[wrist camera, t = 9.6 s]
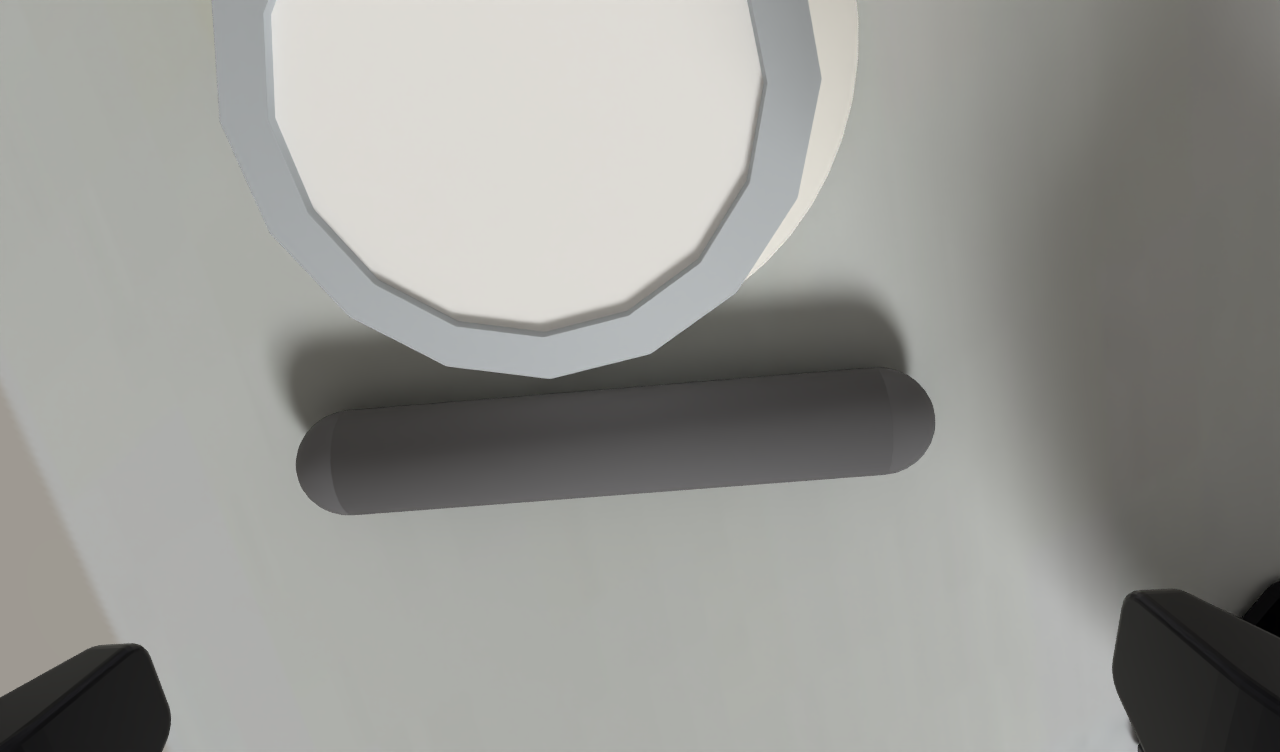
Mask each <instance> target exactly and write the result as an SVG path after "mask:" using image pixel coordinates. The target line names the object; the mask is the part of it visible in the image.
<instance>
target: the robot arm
mask: <svg viewBox="0 0 1280 752" xmlns="http://www.w3.org/2000/svg"><path fill="white" fill-rule="evenodd" d="M1112 673H1113V680H1114V684H1115V687H1116V691H1117V693H1118V696H1119V698H1120V700H1121V702H1122V704H1123V707H1124V709H1125V711H1126V713H1127V715H1128V717H1129V720H1130V722H1131V724H1132V726H1133V728H1134V730H1135V733H1136V735H1137V737H1138V739H1139V741H1140V743H1139V745H1138V752H1280V581H1279V582H1277V583H1275V584H1273V585H1271V586H1270V587H1269V588H1268V589H1267V590H1266V591H1265V592H1264V593H1263V594H1262V595H1261V597H1260V598H1259V599H1258V600H1257V601H1256V603H1255V604H1254V605H1253V606H1252V608H1251V609H1250V610H1249V611H1248V612H1247V614H1246V615H1245V616H1244V617H1243V618H1242V619H1240V618H1238V617H1236V616H1234V615H1232V614H1230V613H1228V612H1226V611H1224V610H1222V609H1220V608H1218V607H1215V606H1213V605H1211V604H1209V603H1207V602H1205V601H1203V600H1201V599H1199V598H1197V597H1195V596H1193V595H1191V594H1189V593H1187V592H1184V591H1182V590H1177V589H1157V590H1139V591H1133V592H1132V593H1130V594H1128V595H1127V596H1126V598H1125V599H1124V601H1123V605H1122V608H1121V614H1120V620H1119V626H1118V632H1117V638H1116V644H1115V650H1114V656H1113V663H1112ZM170 725H171V714H170V708H169V705H168V702H167V700H166V697H165V694H164V692H163V689H162V686H161V684H160V681H159V678H158V676H157V673H156V670H155V668H154V665H153V662H152V660H151V657H150V655H149V653H148V651H147V650H146V649H145V648H143V647H142V646H141V645H138V644H134V643H129V644H110V645H98V646H94V647H91V648H89V649H87V650H85V651H83V652H81V653H80V654H78V655H76V656H74V657H73V658H71V659H69V660H67V661H65V662H63V663H62V664H60V665H58V666H56V667H54V668H53V669H51V670H49V671H47V672H45V673H44V674H42V675H40V676H38V677H36V678H35V679H33V680H31V681H29V682H28V683H26V684H24V685H22V686H20V687H18V688H17V689H15V690H13V691H11V692H9V693H8V694H6V695H4V696H2V697H0V752H162V751H163V748H164V746H165V744H166V741H167V738H168V735H169V731H170Z"/></svg>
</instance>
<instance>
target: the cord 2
mask: <svg viewBox="0 0 1280 752" xmlns="http://www.w3.org/2000/svg"><path fill="white" fill-rule="evenodd" d="M934 431H935V414H934V409H933V405H932V402H931V400H930V398H929V397H928V395H927V393H926V392H925V390H924V389H923V388H922V387H921V386H920V385H919V384H918V383H917V382H916V381H915V380H914V379H912V378H911V377H910V376H908V375H906V374H904V373H902V372H899V371H897V370H893V369H889V368H875V367H874V368H862V369H849V370H837V371H825V372H813V373H800V374H788V375H776V376H763V377H751V378H739V379H727V380H714V381H702V382H690V383H678V384H665V385H653V386H641V387H628V388H616V389H604V390H592V391H579V392H567V393H555V394H543V395H530V396H518V397H506V398H493V399H481V400H469V401H457V402H444V403H432V404H420V405H408V406H395V407H383V408H371V409H359V410H347V411H342V412H337V413H335V414H332V415H330V416H327V417H325V418H323V419H322V420H320V421H319V422H317V423H316V424H315V425H314V426H313V427H312V428H311V429H310V430H309V431H308V432H307V433H306V435H305V436H304V438H303V440H302V442H301V444H300V446H299V449H298V453H297V458H296V472H297V476H298V480H299V483H300V485H301V487H302V489H303V491H304V492H305V493H306V495H307V496H308V497H309V499H311V500H312V501H313V502H314V503H315V504H317V505H318V506H319V507H321V508H323V509H325V510H327V511H329V512H332V513H337V514H341V515H362V514H375V513H389V512H402V511H415V510H428V509H441V508H454V507H467V506H480V505H493V504H507V503H520V502H533V501H546V500H559V499H572V498H585V497H598V496H612V495H625V494H638V493H651V492H664V491H677V490H690V489H703V488H717V487H730V486H743V485H756V484H769V483H782V482H795V481H808V480H822V479H835V478H848V477H861V476H874V475H886V474H891V473H896V472H899V471H902V470H904V469H906V468H908V467H909V466H911V465H912V464H914V463H915V462H917V461H918V460H919V459H920V458H921V457H922V456H923V455H924V453H925V452H926V450H927V449H928V447H929V445H930V444H931V441H932V438H933V435H934Z"/></svg>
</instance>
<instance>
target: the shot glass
mask: <svg viewBox="0 0 1280 752" xmlns="http://www.w3.org/2000/svg"><path fill="white" fill-rule="evenodd" d="M212 12H213V28H214V43H215V58H216V73H217V88H218V103H219V119H220V123H221V126H222V128H223V130H224V132H225V135H226V137H227V139H228V141H229V143H230V146H231V148H232V150H233V152H234V155H235V157H236V159H237V161H238V164H239V166H240V168H241V170H242V172H243V175H244V177H245V179H246V181H247V184H248V186H249V188H250V190H251V193H252V195H253V197H254V199H255V202H256V204H257V206H258V208H259V210H260V213H261V215H262V217H263V219H264V222H265V224H266V226H267V228H268V231H269V233H270V234H271V235H272V236H273V237H274V238H275V239H276V240H277V241H278V242H279V243H280V245H281V246H282V247H283V248H284V249H285V250H286V251H287V252H288V253H289V254H290V255H291V256H292V257H293V258H294V259H295V260H296V261H297V262H298V263H299V265H300V266H301V267H302V268H303V269H304V270H305V271H306V272H307V273H308V274H309V275H310V276H311V277H312V278H313V279H314V280H315V281H316V282H317V283H318V284H319V286H320V287H321V288H322V289H323V290H324V291H325V292H326V293H327V294H328V295H329V296H330V297H331V298H332V299H333V300H334V301H335V302H336V303H337V304H338V306H339V307H340V308H341V309H342V310H343V311H344V312H345V313H346V314H347V315H348V316H349V317H351V318H353V319H354V320H356V321H358V322H360V323H362V324H364V325H366V326H368V327H370V328H372V329H374V330H376V331H378V332H380V333H382V334H384V335H386V336H388V337H390V338H392V339H394V340H396V341H398V342H400V343H402V344H404V345H406V346H407V347H409V348H411V349H413V350H415V351H417V352H419V353H421V354H423V355H425V356H427V357H429V358H431V359H433V360H435V361H437V362H439V363H441V364H443V365H445V366H448V367H456V368H464V369H472V370H481V371H489V372H497V373H505V374H514V375H522V376H530V377H538V378H546V379H552V378H556V377H560V376H564V375H568V374H572V373H576V372H580V371H584V370H588V369H592V368H596V367H600V366H604V365H608V364H612V363H616V362H620V361H624V360H628V359H632V358H636V357H641V356H645V355H649V354H651V353H653V352H654V351H655V350H657V349H658V348H660V347H661V346H662V345H664V344H665V343H667V342H668V341H669V340H671V339H672V338H674V337H675V336H676V335H678V334H679V333H681V332H682V331H683V330H685V329H686V328H688V327H689V326H690V325H692V324H693V323H695V322H696V321H697V320H699V319H700V318H702V317H703V316H704V315H706V314H707V313H709V312H710V311H711V310H713V309H714V308H716V307H717V306H718V305H720V304H721V303H723V302H724V301H725V300H727V299H728V298H730V297H731V296H732V295H734V294H735V293H737V291H738V290H739V288H740V287H741V285H742V283H743V282H744V280H745V279H746V277H747V276H748V274H749V273H750V271H751V269H752V268H753V266H754V265H755V263H756V262H757V260H758V259H759V257H760V256H761V254H762V252H763V251H764V249H765V248H766V246H767V245H768V243H769V242H770V240H771V239H772V237H773V235H774V234H775V232H776V231H777V229H778V228H779V226H780V225H781V223H782V221H783V220H784V218H785V217H786V215H787V214H788V212H789V211H790V209H791V208H792V206H793V204H794V203H795V201H796V200H797V198H798V194H799V189H800V184H801V179H802V174H803V169H804V164H805V159H806V154H807V149H808V144H809V139H810V134H811V129H812V124H813V119H814V114H815V110H816V105H817V100H818V95H819V90H820V85H821V80H822V77H821V72H820V66H819V60H818V55H817V49H816V43H815V37H814V32H813V26H812V20H811V15H810V9H809V3H808V0H212Z"/></svg>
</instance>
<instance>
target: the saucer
mask: <svg viewBox="0 0 1280 752" xmlns="http://www.w3.org/2000/svg"><path fill="white" fill-rule="evenodd" d="M808 3H809V9H810V15H811V20H812V26H813V32H814V37H815V43H816V49H817V55H818V60H819V66H820V72H821V77H822V80H821V85H820V90H819V95H818V100H817V105H816V110H815V114H814V119H813V124H812V129H811V134H810V139H809V144H808V149H807V154H806V159H805V164H804V169H803V174H802V179H801V184H800V189H799V194H798V198H797V200H796V201H795V203H794V204H793V206H792V208H791V209H790V211H789V212H788V214H787V215H786V217H785V218H784V220H783V221H782V223H781V225H780V226H779V228H778V229H777V231H776V232H775V234H774V235H773V237H772V239H771V240H770V242H769V243H768V245H767V246H766V248H765V249H764V251H763V252H762V254H761V256H760V257H759V259H758V260H757V262H756V263H755V265H754V266H753V268H752V269H751V271H750V273H749V274H748V276H747V277H746V279H747V278H748V277H749V276H751V275H752V274H753V273H754V272H755V271H757V270H758V269H759V268H760V267H761V266H762V265H764V264H765V263H766V262H767V261H768V259H769V258H770V257H771V256H772V255H773V254H774V253H775V252H776V251H777V250H778V249H779V248H780V247H781V245H782V244H783V243H784V242H785V241H786V240H787V239H788V238H789V237H790V235H791V234H792V232H793V231H794V230H795V228H796V227H797V225H798V224H799V223H800V221H801V220H802V219H803V217H804V216H805V214H806V213H807V212H808V210H809V209H810V207H811V205H812V204H813V202H814V200H815V198H816V196H817V195H818V193H819V191H820V189H821V187H822V185H823V184H824V182H825V180H826V178H827V176H828V174H829V172H830V169H831V167H832V164H833V162H834V159H835V157H836V154H837V152H838V149H839V147H840V144H841V142H842V139H843V135H844V132H845V128H846V124H847V120H848V116H849V113H850V109H851V105H852V101H853V94H854V87H855V80H856V72H857V65H858V29H859V19H858V9H857V0H808ZM746 279H745V280H746ZM745 280H744V281H745Z"/></svg>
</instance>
